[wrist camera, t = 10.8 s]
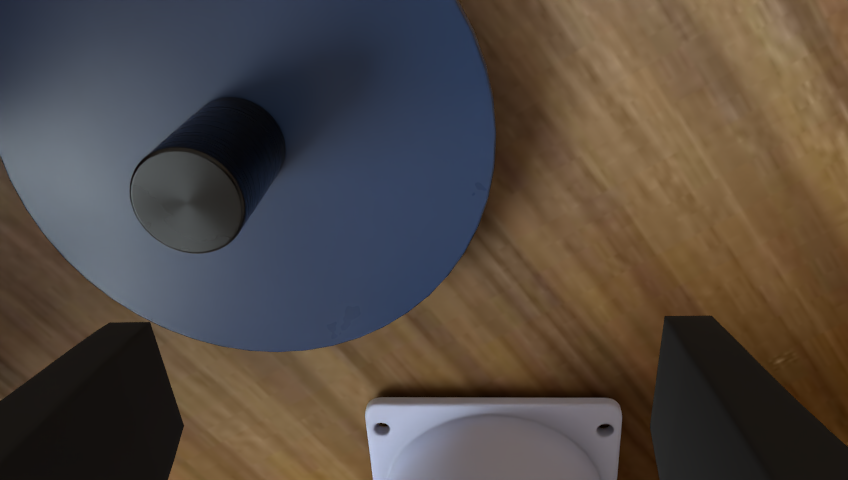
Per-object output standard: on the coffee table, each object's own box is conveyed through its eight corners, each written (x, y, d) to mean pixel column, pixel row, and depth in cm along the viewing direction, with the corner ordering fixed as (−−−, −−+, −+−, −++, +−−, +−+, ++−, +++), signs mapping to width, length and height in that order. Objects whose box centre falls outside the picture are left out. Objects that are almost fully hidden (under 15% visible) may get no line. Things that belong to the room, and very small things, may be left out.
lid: (498, 329, 21) (502, 441, 17) (86, 332, 22) (-4, 437, 18) (491, -167, 15) (493, -177, 11) (-66, -128, 16) (-247, -124, 12)
